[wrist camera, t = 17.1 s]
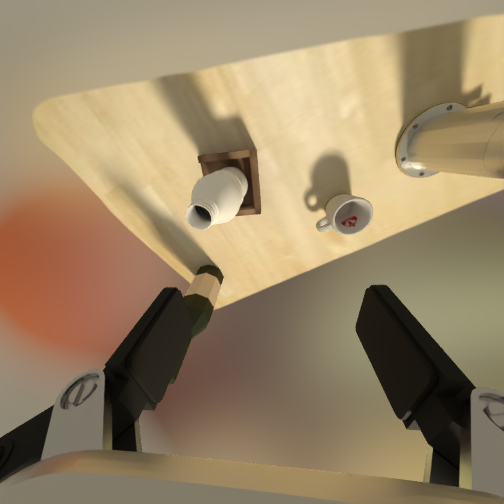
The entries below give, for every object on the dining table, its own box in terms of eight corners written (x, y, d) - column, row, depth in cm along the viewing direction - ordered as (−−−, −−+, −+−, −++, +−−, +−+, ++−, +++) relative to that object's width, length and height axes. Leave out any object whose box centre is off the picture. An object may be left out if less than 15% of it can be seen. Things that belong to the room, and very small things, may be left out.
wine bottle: (229, 277, 56) (198, 388, 30) (211, 290, 59) (168, 401, 33) (209, 259, 53) (156, 364, 27) (191, 274, 56) (128, 381, 30)
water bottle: (211, 185, 42) (154, 221, 20) (229, 158, 39) (185, 166, 17) (236, 205, 44) (208, 257, 22) (255, 180, 41) (245, 214, 19)
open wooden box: (256, 149, 39) (255, 148, 33) (261, 206, 44) (260, 213, 39) (200, 156, 40) (191, 156, 35) (212, 210, 46) (206, 218, 41)
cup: (319, 234, 47) (328, 248, 40) (305, 209, 44) (312, 219, 37) (360, 211, 44) (379, 222, 37) (348, 182, 41) (366, 189, 34)
